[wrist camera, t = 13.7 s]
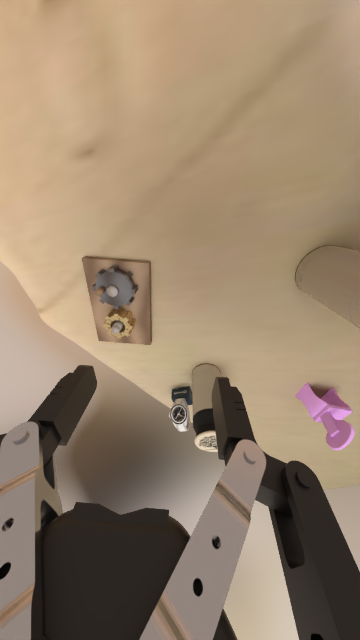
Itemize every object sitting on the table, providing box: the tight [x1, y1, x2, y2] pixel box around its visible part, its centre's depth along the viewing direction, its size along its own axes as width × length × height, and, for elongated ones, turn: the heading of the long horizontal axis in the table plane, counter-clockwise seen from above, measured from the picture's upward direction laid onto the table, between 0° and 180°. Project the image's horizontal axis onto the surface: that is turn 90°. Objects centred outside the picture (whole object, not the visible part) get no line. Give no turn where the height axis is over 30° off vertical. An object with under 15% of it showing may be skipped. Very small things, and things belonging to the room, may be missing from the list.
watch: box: [169, 387, 193, 432], centre depth 50 cm, size 6×8×11 cm
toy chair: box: [295, 383, 355, 450], centre depth 46 cm, size 8×9×15 cm
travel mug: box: [192, 364, 221, 452], centre depth 43 cm, size 8×8×18 cm
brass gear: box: [103, 307, 136, 338], centre depth 39 cm, size 6×6×3 cm
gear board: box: [82, 257, 152, 345], centre depth 38 cm, size 13×20×6 cm, turn 176°
